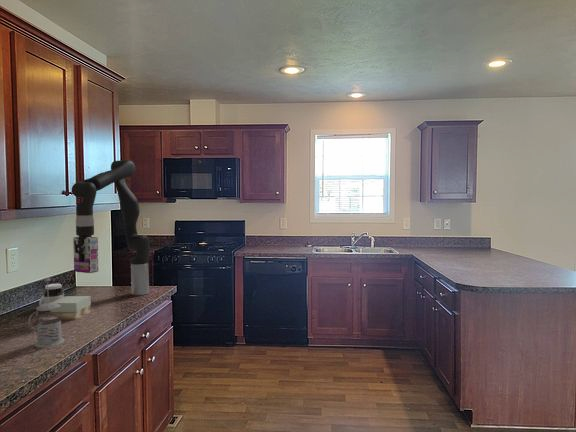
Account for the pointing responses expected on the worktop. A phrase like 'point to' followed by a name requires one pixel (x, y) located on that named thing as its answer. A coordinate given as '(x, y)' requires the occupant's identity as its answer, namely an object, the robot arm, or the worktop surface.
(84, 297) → the sage block
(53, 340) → the french press
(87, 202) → the robot arm
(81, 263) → the candy bar box
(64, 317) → the maple block
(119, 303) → the worktop surface
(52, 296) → the spread jar
